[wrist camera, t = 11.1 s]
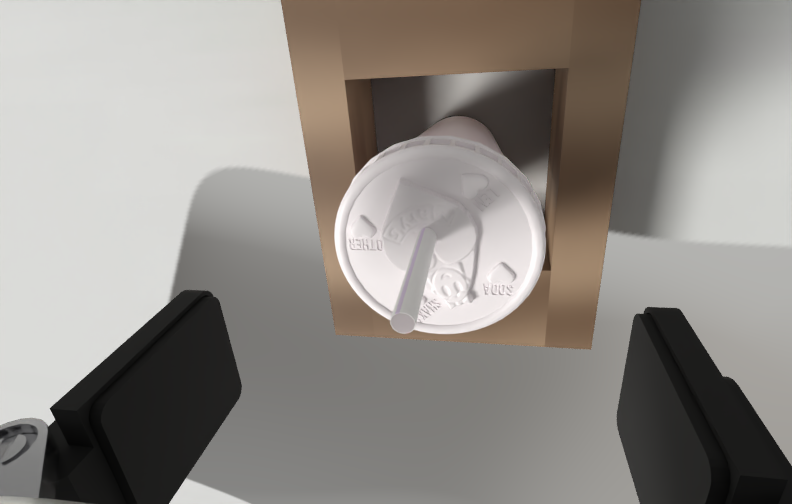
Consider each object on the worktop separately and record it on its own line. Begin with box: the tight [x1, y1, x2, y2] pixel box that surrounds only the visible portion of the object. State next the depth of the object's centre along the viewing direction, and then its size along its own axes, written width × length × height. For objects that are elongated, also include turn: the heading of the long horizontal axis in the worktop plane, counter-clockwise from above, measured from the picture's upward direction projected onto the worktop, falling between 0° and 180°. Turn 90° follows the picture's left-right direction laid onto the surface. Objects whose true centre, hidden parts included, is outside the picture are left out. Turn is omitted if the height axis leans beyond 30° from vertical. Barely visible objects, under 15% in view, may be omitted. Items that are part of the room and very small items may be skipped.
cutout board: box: [281, 0, 641, 349], centre depth 21 cm, size 16×12×4 cm
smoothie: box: [334, 116, 546, 334], centre depth 16 cm, size 6×6×14 cm
